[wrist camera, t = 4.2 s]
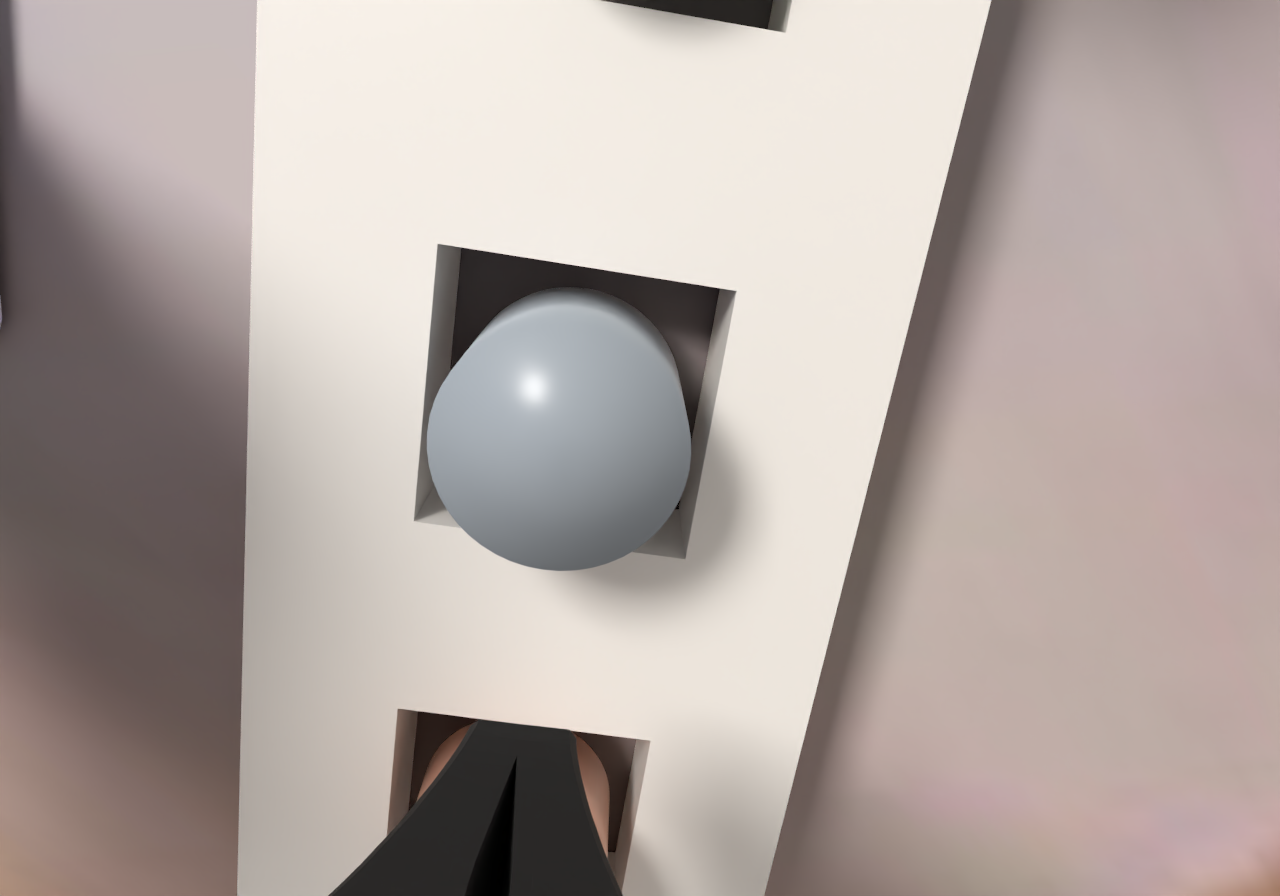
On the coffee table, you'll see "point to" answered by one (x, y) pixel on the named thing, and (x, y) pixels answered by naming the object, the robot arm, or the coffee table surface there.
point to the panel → (420, 362)
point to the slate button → (562, 432)
